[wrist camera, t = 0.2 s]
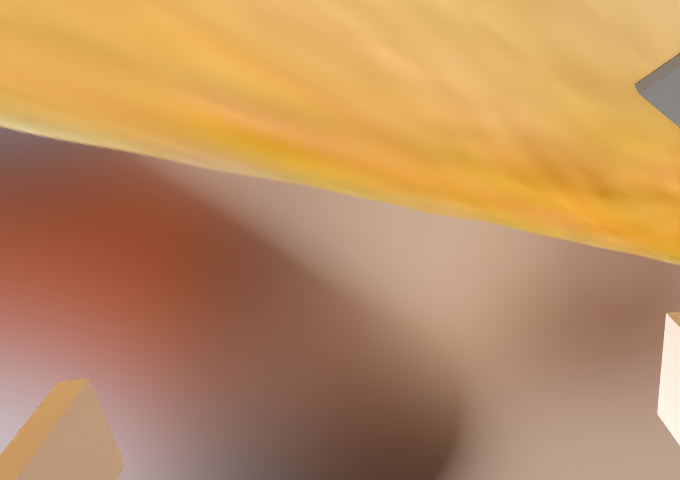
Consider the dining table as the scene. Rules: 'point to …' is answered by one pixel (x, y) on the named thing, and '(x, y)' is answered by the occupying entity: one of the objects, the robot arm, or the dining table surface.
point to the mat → (664, 89)
